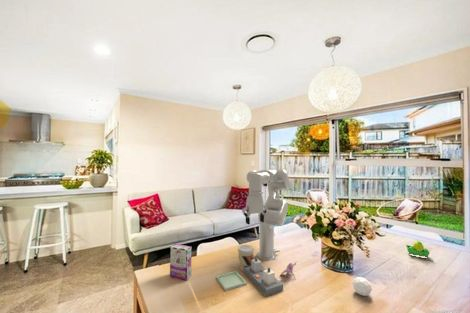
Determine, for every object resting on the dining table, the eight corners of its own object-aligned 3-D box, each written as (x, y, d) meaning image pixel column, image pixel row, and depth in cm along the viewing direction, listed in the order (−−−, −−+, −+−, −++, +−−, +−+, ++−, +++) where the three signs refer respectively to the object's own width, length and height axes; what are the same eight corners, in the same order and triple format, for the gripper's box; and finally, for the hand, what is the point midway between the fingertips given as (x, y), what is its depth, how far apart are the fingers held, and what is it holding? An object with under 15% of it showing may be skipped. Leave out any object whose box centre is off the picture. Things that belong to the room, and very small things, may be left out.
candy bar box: (191, 276, 113) (192, 246, 113) (186, 281, 108) (187, 250, 109) (175, 272, 117) (175, 243, 117) (169, 276, 112) (169, 246, 112)
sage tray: (236, 273, 116) (236, 270, 116) (246, 285, 105) (246, 282, 105) (216, 279, 110) (216, 275, 110) (225, 292, 99) (225, 288, 100)
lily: (299, 274, 118) (291, 257, 121) (308, 277, 107) (299, 258, 110) (281, 283, 115) (274, 265, 118) (288, 287, 104) (280, 267, 107)
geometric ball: (364, 302, 97) (363, 294, 93) (349, 287, 104) (348, 279, 100) (375, 293, 98) (375, 284, 95) (360, 279, 105) (360, 270, 102)
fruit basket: (427, 256, 140) (427, 239, 140) (430, 261, 133) (430, 244, 133) (405, 252, 146) (405, 236, 147) (408, 256, 139) (407, 240, 139)
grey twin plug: (257, 272, 116) (257, 255, 116) (261, 276, 112) (261, 258, 113) (251, 274, 114) (251, 257, 114) (254, 278, 111) (255, 260, 111)
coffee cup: (242, 274, 115) (243, 252, 116) (235, 266, 124) (235, 246, 124) (256, 270, 120) (256, 249, 120) (248, 263, 128) (248, 243, 128)
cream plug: (269, 284, 105) (269, 265, 105) (274, 288, 102) (274, 269, 102) (263, 286, 103) (263, 267, 104) (268, 290, 100) (268, 271, 100)
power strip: (243, 274, 116) (244, 266, 116) (258, 269, 120) (258, 263, 120) (266, 297, 96) (266, 288, 96) (283, 291, 100) (283, 283, 100)
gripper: (263, 191, 127) (263, 219, 126) (239, 193, 119) (239, 222, 119) (271, 193, 120) (270, 222, 120) (245, 195, 112) (245, 226, 112)
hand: (255, 222), depth 119 cm, fingers open, 9 cm apart
